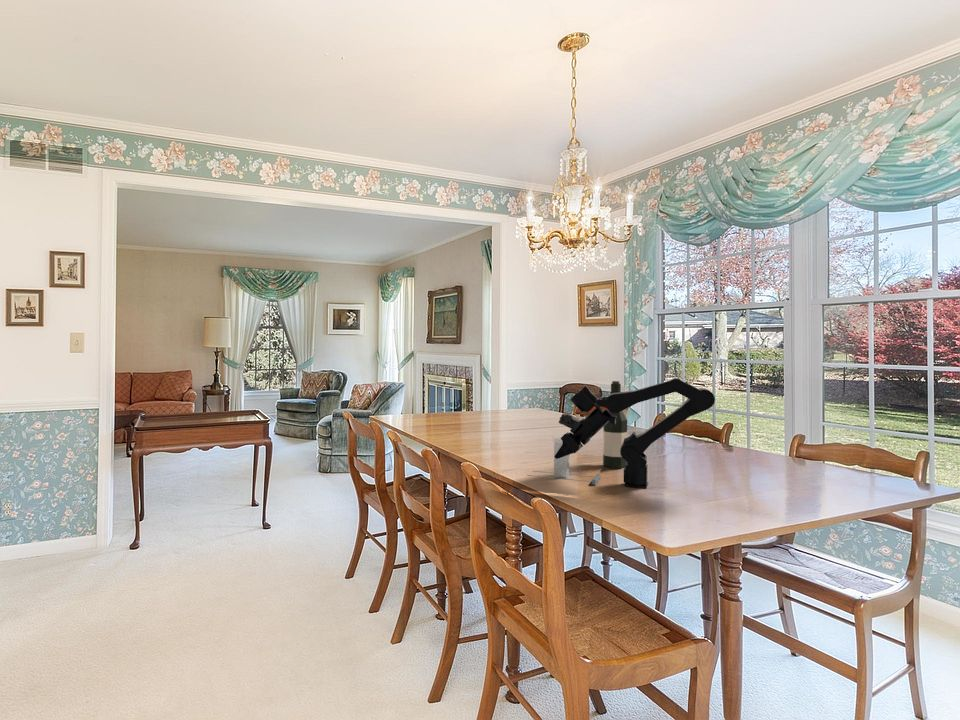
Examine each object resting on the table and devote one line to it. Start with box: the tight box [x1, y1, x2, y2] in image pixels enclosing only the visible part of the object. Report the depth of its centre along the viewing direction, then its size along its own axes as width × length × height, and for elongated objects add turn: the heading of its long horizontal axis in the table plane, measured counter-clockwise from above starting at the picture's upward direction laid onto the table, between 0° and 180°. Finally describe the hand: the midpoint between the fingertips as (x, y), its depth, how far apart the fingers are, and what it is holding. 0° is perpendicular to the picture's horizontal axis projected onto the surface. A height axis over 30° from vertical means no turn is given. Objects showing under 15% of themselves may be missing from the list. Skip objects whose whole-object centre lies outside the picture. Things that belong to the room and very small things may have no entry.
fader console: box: [526, 470, 601, 486], centre depth 177 cm, size 23×9×2 cm, turn 68°
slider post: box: [552, 436, 570, 479], centre depth 177 cm, size 4×4×12 cm
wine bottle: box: [602, 380, 628, 470], centre depth 195 cm, size 8×8×30 cm
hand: (557, 456), depth 178 cm, fingers open, 5 cm apart
